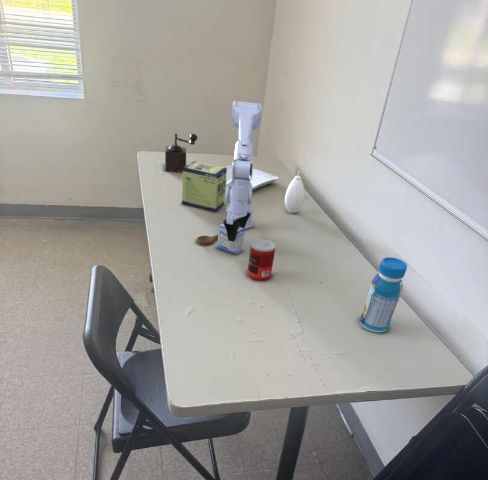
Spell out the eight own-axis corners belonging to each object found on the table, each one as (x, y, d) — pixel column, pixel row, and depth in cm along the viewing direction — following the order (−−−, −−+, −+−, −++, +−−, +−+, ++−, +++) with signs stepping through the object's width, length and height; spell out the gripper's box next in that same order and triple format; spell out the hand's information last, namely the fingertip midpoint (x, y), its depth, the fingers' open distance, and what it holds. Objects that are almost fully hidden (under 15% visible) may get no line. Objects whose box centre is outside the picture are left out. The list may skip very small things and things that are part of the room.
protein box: (215, 212, 182) (218, 174, 173) (181, 204, 185) (182, 166, 176) (224, 204, 190) (227, 167, 181) (191, 196, 193) (192, 160, 184)
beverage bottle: (370, 335, 122) (392, 272, 110) (353, 318, 128) (371, 256, 116) (394, 330, 125) (418, 268, 113) (376, 314, 131) (396, 253, 119)
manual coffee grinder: (164, 171, 217) (164, 132, 206) (164, 164, 226) (164, 127, 215) (196, 173, 219) (197, 135, 209) (195, 166, 228) (196, 129, 218)
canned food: (273, 272, 145) (278, 242, 139) (266, 283, 139) (271, 252, 133) (251, 267, 147) (255, 236, 140) (243, 277, 141) (247, 246, 134)
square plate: (235, 170, 231) (235, 162, 229) (278, 184, 219) (280, 176, 217) (201, 180, 212) (201, 172, 210) (247, 196, 201) (248, 188, 198)
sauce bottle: (292, 217, 186) (299, 174, 176) (279, 210, 191) (285, 168, 180) (304, 213, 191) (312, 171, 180) (291, 207, 195) (298, 166, 185)
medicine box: (216, 248, 155) (218, 225, 150) (223, 244, 159) (225, 221, 154) (236, 255, 153) (238, 231, 148) (242, 250, 156) (244, 227, 151)
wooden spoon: (224, 231, 167) (224, 229, 166) (233, 237, 164) (234, 234, 164) (193, 241, 158) (193, 238, 157) (203, 246, 155) (203, 243, 154)
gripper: (236, 189, 151) (232, 226, 158) (219, 202, 139) (216, 241, 147) (255, 194, 149) (251, 231, 157) (239, 207, 138) (235, 246, 146)
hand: (235, 236), depth 152 cm, fingers open, 7 cm apart
